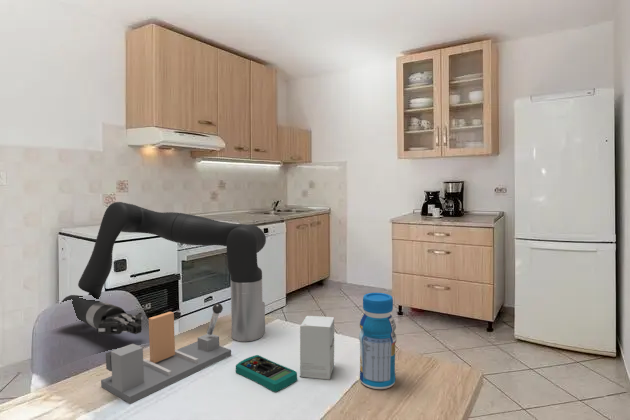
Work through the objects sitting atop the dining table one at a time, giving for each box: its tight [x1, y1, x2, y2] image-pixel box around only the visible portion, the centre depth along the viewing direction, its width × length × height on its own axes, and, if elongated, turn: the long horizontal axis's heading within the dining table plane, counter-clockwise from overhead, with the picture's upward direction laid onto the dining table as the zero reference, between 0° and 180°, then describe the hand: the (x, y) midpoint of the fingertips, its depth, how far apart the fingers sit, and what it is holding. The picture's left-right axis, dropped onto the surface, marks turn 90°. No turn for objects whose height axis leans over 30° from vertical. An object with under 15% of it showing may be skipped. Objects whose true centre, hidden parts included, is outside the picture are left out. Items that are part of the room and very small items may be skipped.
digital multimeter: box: [235, 354, 298, 393], centre depth 94 cm, size 7×15×3 cm, turn 49°
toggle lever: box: [206, 303, 224, 335], centre depth 104 cm, size 3×3×10 cm
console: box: [100, 333, 232, 405], centre depth 97 cm, size 28×12×10 cm, turn 144°
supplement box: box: [299, 315, 335, 380], centre depth 95 cm, size 7×7×13 cm
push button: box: [105, 351, 112, 372], centre depth 89 cm, size 4×2×4 cm, turn 144°
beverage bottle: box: [358, 292, 397, 390], centre depth 90 cm, size 8×8×20 cm
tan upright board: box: [148, 311, 176, 363], centre depth 98 cm, size 6×2×11 cm, turn 144°
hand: (138, 329), depth 105 cm, fingers closed
